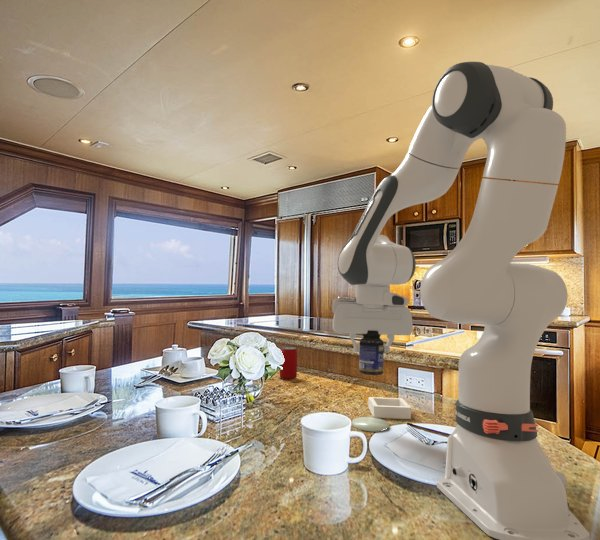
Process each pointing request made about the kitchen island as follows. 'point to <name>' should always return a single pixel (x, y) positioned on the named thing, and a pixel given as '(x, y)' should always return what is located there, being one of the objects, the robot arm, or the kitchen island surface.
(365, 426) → the coaster
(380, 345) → the pill bottle
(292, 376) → the beverage can
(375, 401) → the pocket
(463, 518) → the kitchen island surface
